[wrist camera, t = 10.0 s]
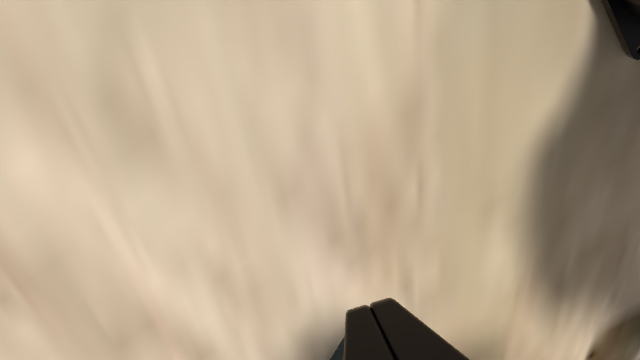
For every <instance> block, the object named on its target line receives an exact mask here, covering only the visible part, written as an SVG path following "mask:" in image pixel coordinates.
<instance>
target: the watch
mask: <svg viewBox="0 0 640 360" xmlns="http://www.w3.org/2000/svg"><path fill="white" fill-rule="evenodd" d="M344 340H345V337H344V338H343V340H342V342H341V343H340V345H339V346H338V348H337V350H336V351H335V353H334V354H333V356H332V358H331V359H330V360H343V359H344Z"/></svg>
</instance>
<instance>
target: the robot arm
mask: <svg viewBox="0 0 640 360" xmlns="http://www.w3.org/2000/svg"><path fill="white" fill-rule="evenodd" d="M602 2H603V4H604V7H605V9H606V11H607V13H608V16H609V18H610V20H611V22H612V25H613V27H614V29H615V31H616V34H617V36H618V38H619V40H620V43H621V45H622V47H623V49H624V51H625V54H626V55H627V56H629V57H631V58H633V59H636V60H639V59H640V48H639V49H638V50H637V48H638V46H639V45H640V0H602ZM343 360H469V359H468V358H467V357H466V356H464V355H463V354H462V353H461V352H459V351H458V350H457V349H456V348H454V347H453V346H452V345H450V344H449V343H448V342H447V341H445V340H444V339H443V338H442V337H440V336H439V335H438V334H437V333H435V332H434V331H433V330H432V329H430V328H429V327H428V326H427V325H425V324H424V323H423V322H422V321H420V320H419V319H418V318H417V317H415V316H414V315H413V314H412V313H410V312H409V311H408V310H406V309H405V308H404V307H403V306H401V305H400V304H399V303H398V302H396V301H395V300H394V299H392V298H386V299H383V300H380V301H377V302H373V303H371V304H370V307H369V306H367V305H363V306H360V307H357V308H353V309H350V310H348V311H347V313H346V322H345V340H344V359H343Z"/></svg>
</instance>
